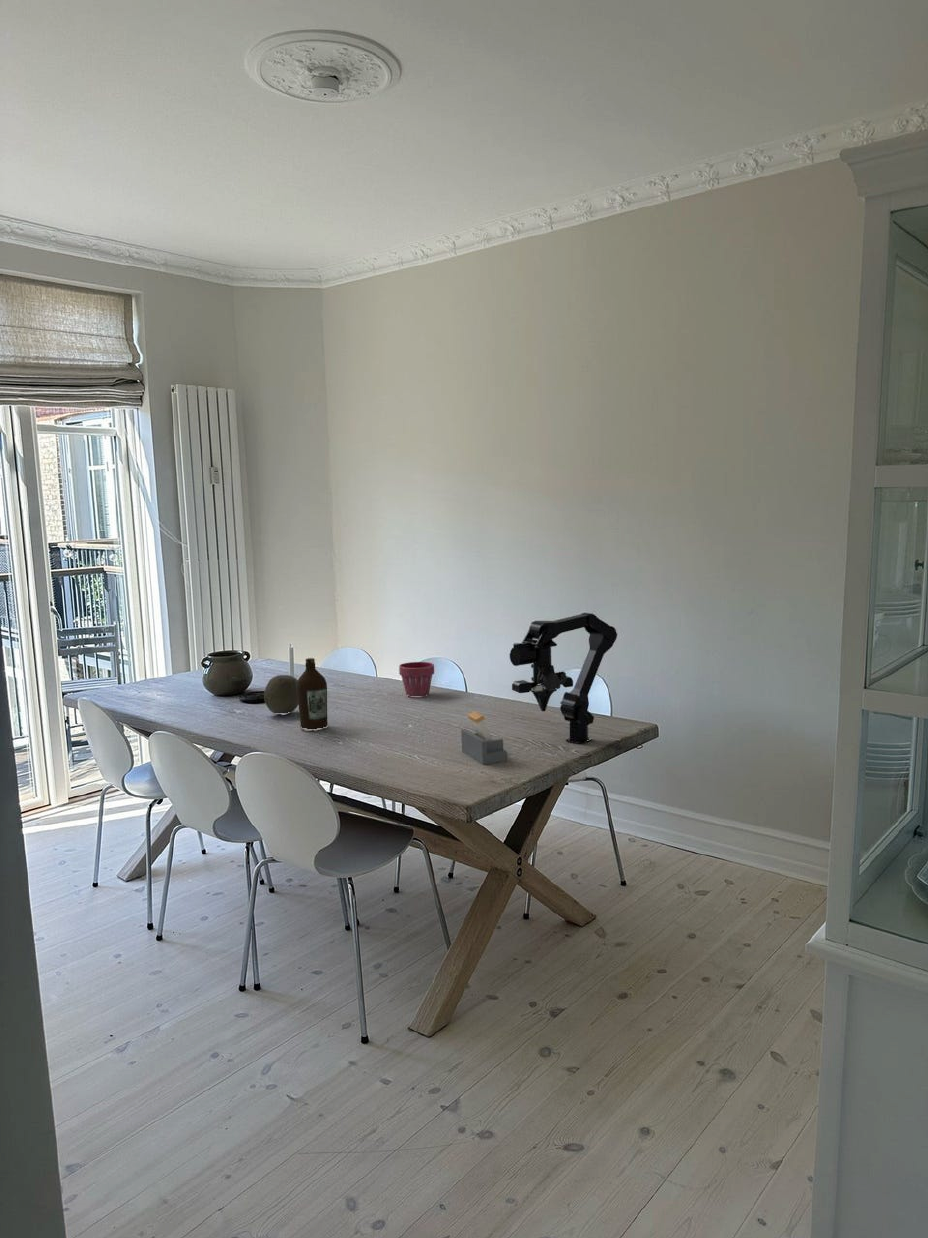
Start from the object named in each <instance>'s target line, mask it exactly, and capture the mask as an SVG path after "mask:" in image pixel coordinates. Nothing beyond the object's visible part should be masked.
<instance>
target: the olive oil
mask: <svg viewBox="0 0 928 1238" xmlns="http://www.w3.org/2000/svg"><path fill="white" fill-rule="evenodd" d="M304 660H305V670H304V671H303V673H302V674H301V675H300V676H299V678H297V680H298V681H297V685H296V689H297V697H298V713H299V725H300V728H301V727H302V728H307V729H317V728H323V727H326V726H327V725H329V724H328V723H329V722H328V684H327V681H326V678H325V677H324V676H323V675H322V674H321V673H320V672H319V671H318V670H317V669H316V659H315V658H314V657H309V658H306V659H304Z"/></svg>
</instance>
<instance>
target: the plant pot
mask: <svg viewBox="0 0 928 1238" xmlns="http://www.w3.org/2000/svg"><path fill="white" fill-rule="evenodd" d="M398 667H399V669H398V671H399V672H398V673H399V676H401V678H402V679H401V680H402V682H403V683H402V684H403V686H404V687H403V688H404V691H405V694H406V696H407V695H409V696H426V695H428V694H429V695H430V690H431V685H432V684H431V683H432V678H433V675H434V674H435V664H434V663H432V662H428V661H427V662H426V661H411V662H410V661H409V662H405V663H401V664H399V666H398ZM429 695H428V696H429ZM426 697H427V696H426Z"/></svg>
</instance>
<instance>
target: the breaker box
mask: <svg viewBox="0 0 928 1238" xmlns="http://www.w3.org/2000/svg"><path fill="white" fill-rule="evenodd" d="M460 731H461V733H460V735H461V751H462V753H464V754H466V755H468V756H469V758H472V759H473V760H475V761H476V762H478V763H479V764H481V765H489V764H495V763H496V764H497V763H501V762H508V751H507V750H506V749H504V739H503V738H495V739H492V740H488V741H485V740H484V739H482V738H480V737H479V736H478V735H477V733H476V732H472V731H470V730H468V729H467V728H463V729H460Z"/></svg>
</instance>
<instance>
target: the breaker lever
mask: <svg viewBox="0 0 928 1238" xmlns="http://www.w3.org/2000/svg"><path fill="white" fill-rule="evenodd" d="M467 717H468V719H469V720H470V721H471V723H472V725H473V728H474V730H475V733H477V735H478V736H479V737H480V738H482V739H484V740H485V741H488V740H493V737H492V735H491V733H490V731H489V729H488V726H487V724H486V722H485V717H484V715H483V714H480V713H479V712H477V711H475V710H474V711H472V712H470V713H468V714H467Z"/></svg>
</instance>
